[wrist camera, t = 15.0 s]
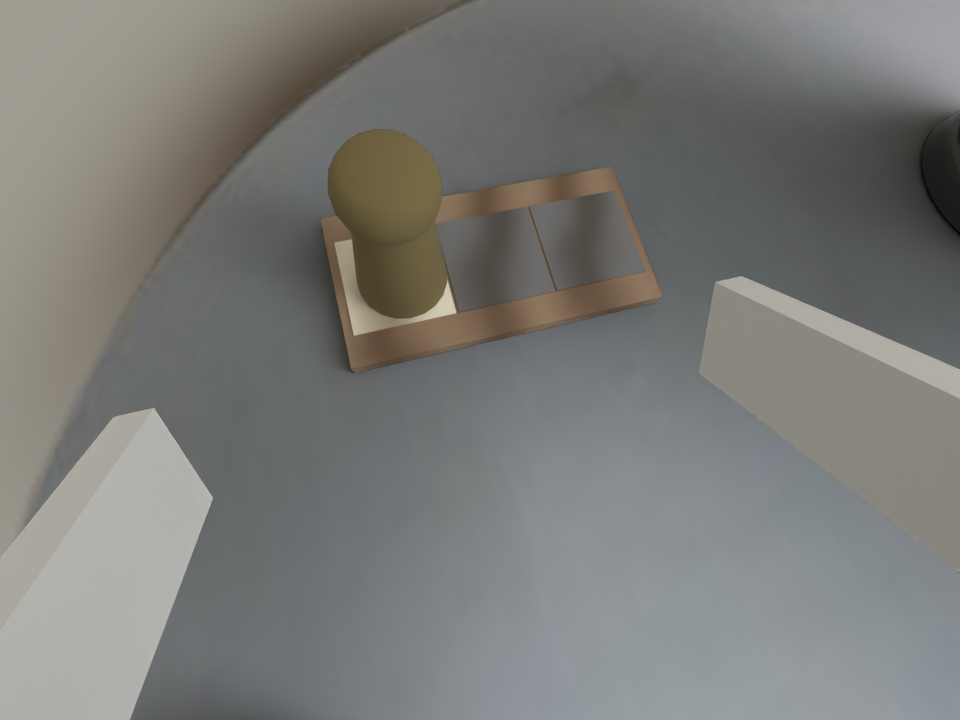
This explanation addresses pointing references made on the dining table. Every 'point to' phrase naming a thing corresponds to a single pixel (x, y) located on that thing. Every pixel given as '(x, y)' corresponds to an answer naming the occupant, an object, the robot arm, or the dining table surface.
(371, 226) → the cork
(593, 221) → the brown frame
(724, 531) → the dining table surface
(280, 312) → the dining table surface
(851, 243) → the dining table surface
